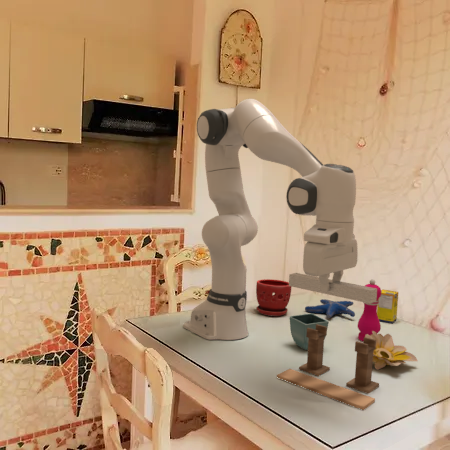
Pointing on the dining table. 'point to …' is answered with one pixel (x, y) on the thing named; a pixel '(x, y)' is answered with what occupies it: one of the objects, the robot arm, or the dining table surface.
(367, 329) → the pepper mill
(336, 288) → the steel rail
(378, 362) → the decorative flower
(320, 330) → the walnut post
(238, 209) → the robot arm
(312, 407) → the dining table surface
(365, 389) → the walnut post
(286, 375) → the light wood flat board
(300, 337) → the flower pot
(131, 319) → the dining table surface
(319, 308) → the starfish
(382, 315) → the supplement box
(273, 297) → the plant pot
